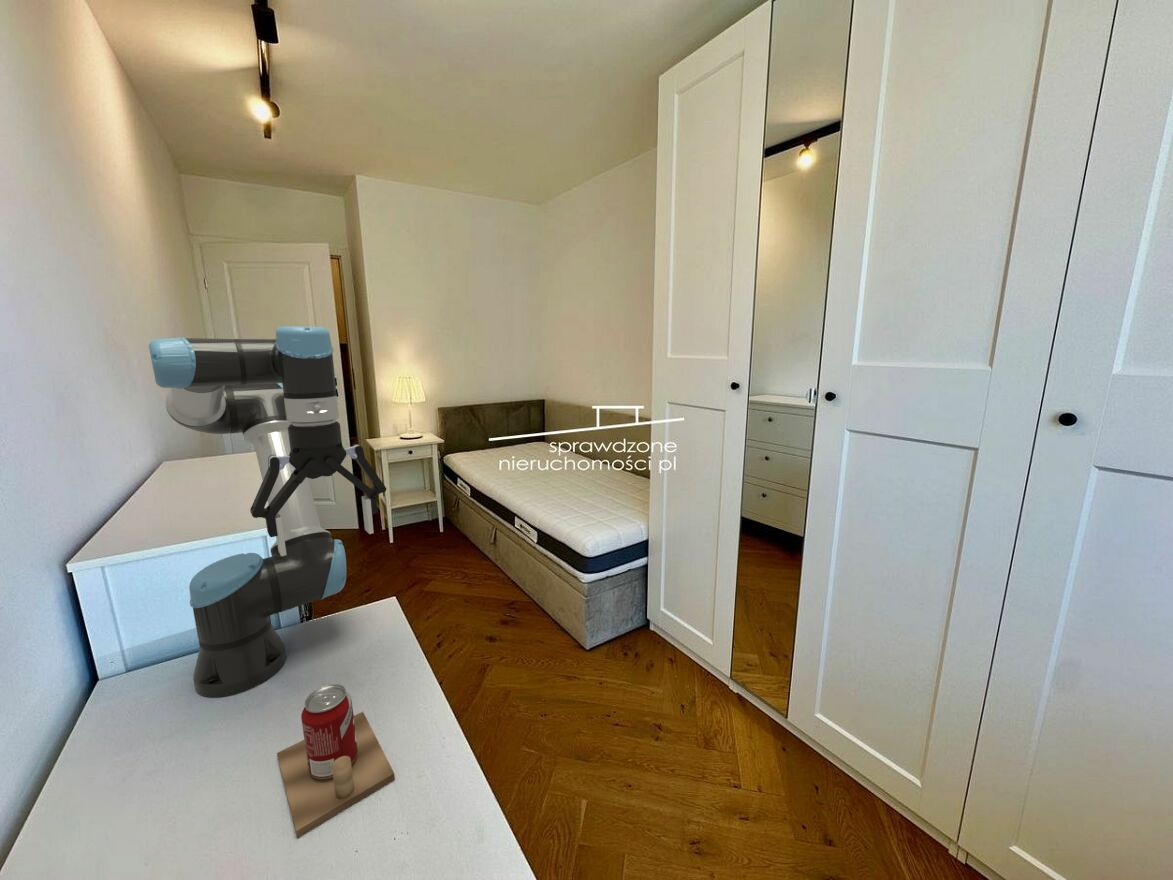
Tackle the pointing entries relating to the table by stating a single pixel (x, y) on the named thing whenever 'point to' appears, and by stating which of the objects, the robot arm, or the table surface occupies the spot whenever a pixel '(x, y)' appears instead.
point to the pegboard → (333, 779)
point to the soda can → (328, 729)
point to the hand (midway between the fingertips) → (328, 541)
